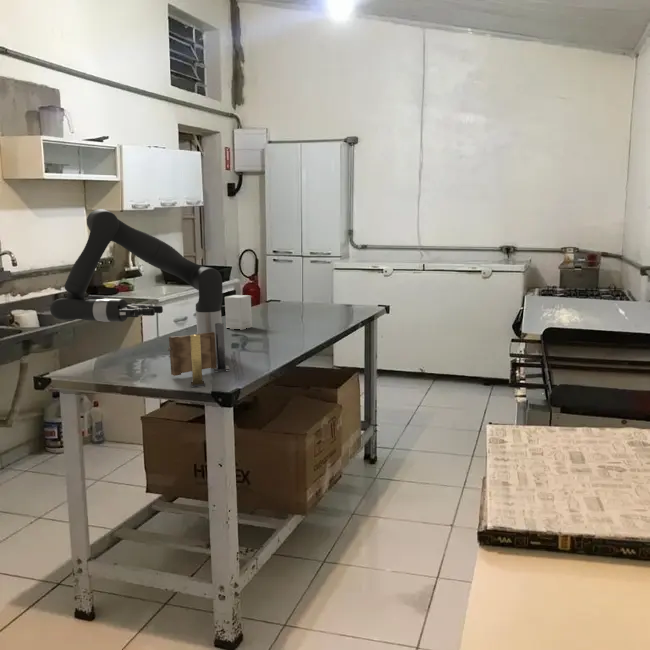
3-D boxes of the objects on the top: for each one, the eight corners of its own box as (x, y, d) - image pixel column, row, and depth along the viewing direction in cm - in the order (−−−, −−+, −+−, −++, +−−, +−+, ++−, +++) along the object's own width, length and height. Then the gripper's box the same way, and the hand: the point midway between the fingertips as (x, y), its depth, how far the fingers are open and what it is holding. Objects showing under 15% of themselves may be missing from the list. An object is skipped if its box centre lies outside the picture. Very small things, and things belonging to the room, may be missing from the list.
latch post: (191, 384, 219) (188, 334, 216) (203, 383, 219) (201, 333, 217) (191, 387, 215) (188, 336, 212) (204, 386, 216) (202, 335, 213)
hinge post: (213, 368, 239) (210, 323, 237) (228, 367, 240) (226, 322, 238) (214, 372, 234) (212, 325, 232) (229, 371, 235) (227, 324, 233)
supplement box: (252, 327, 322) (251, 295, 320) (241, 330, 314) (240, 297, 312) (236, 326, 326) (235, 294, 324) (225, 329, 319) (224, 296, 316)
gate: (213, 367, 237) (211, 330, 235) (217, 368, 235) (215, 331, 233) (168, 375, 226) (165, 337, 224) (171, 376, 225) (169, 338, 222)
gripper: (98, 301, 222) (147, 302, 218) (120, 296, 235) (167, 296, 232) (100, 325, 223) (149, 325, 219) (122, 318, 237) (168, 318, 233)
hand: (158, 310), depth 226 cm, fingers open, 5 cm apart
